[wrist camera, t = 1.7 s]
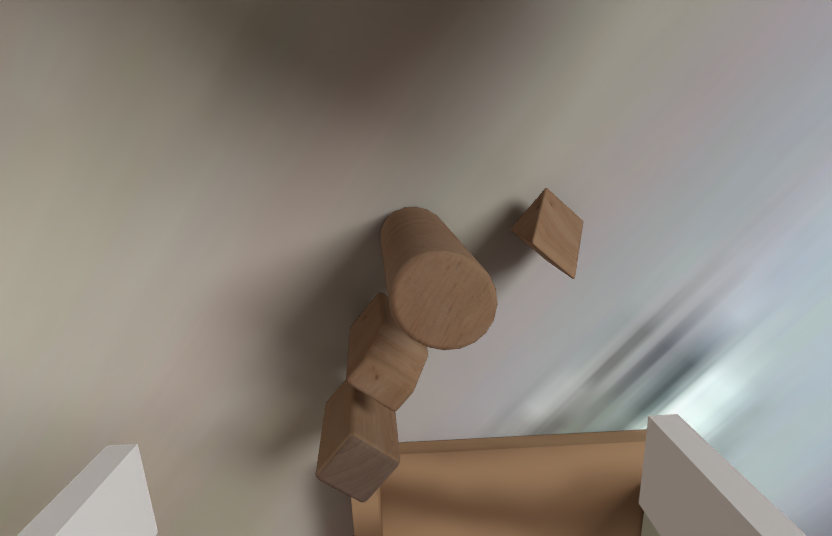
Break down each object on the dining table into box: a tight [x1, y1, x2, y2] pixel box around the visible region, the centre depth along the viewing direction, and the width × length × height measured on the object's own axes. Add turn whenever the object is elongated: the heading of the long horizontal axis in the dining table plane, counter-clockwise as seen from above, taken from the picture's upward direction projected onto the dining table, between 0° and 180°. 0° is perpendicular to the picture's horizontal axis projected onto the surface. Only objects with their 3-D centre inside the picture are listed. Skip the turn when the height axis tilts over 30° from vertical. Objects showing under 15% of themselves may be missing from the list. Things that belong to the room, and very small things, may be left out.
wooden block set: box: [316, 188, 583, 503], centre depth 22 cm, size 18×9×10 cm, turn 141°
